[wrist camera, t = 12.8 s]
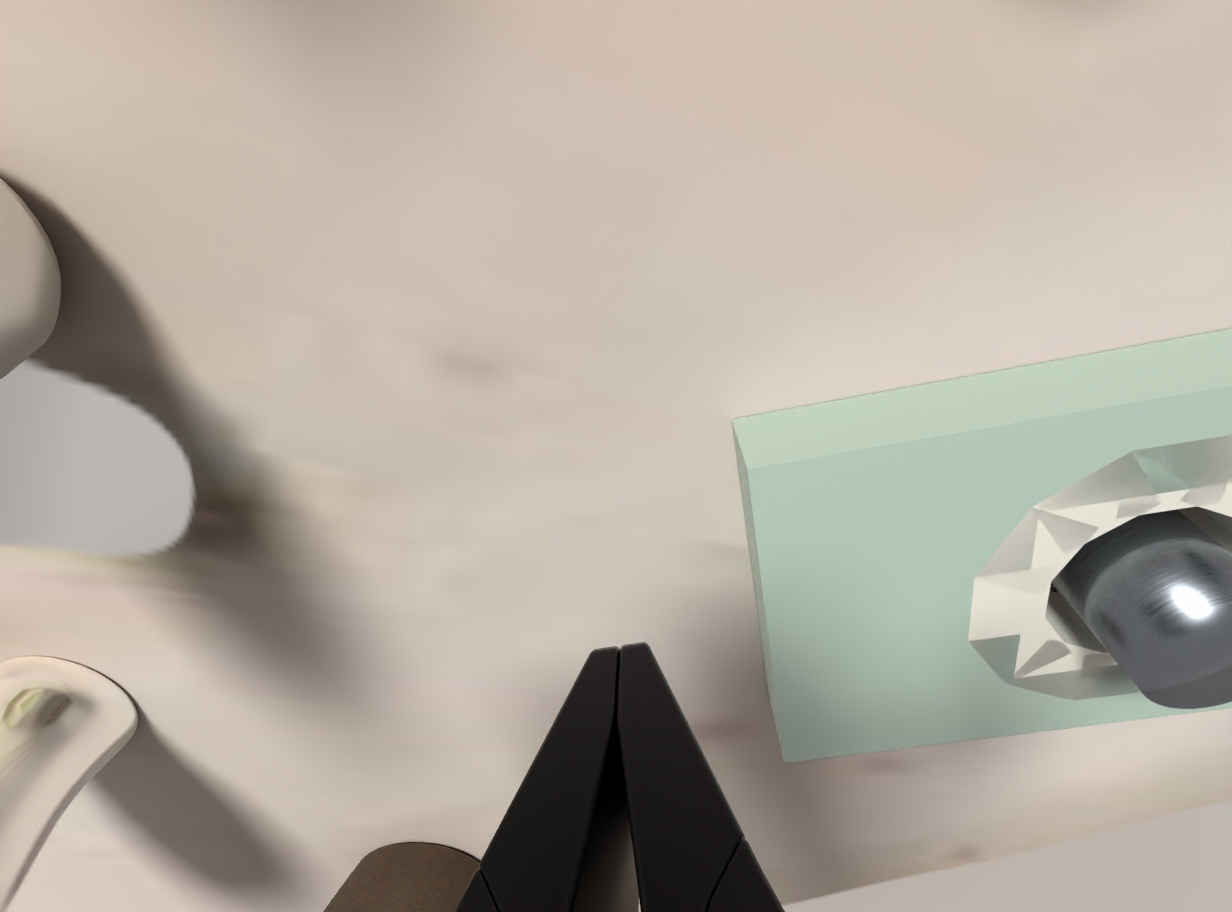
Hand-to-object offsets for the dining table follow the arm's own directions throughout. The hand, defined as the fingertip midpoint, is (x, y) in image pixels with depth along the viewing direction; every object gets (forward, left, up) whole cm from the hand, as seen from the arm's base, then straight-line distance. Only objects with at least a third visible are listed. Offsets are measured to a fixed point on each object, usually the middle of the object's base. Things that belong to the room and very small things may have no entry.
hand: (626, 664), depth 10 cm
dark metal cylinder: (-15, +10, -12) cm, 22 cm away
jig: (-12, +10, -12) cm, 20 cm away
